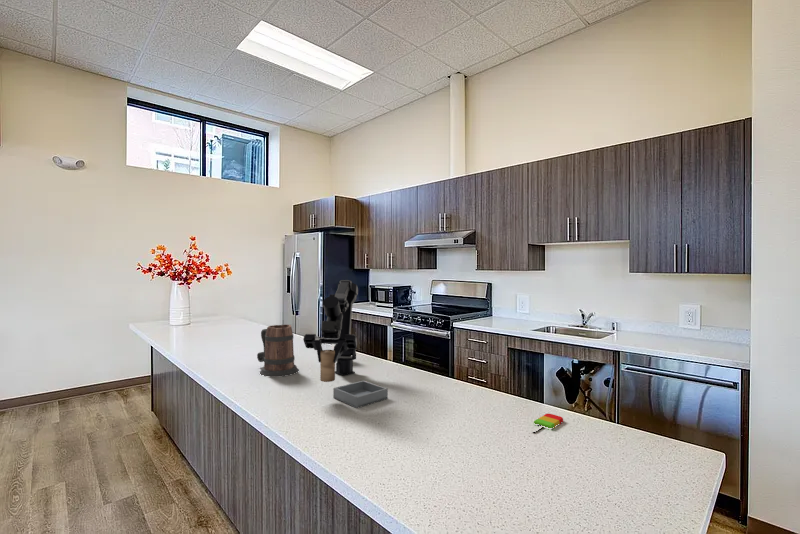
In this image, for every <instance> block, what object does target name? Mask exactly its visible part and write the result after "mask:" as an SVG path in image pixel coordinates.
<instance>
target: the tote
mask: <svg viewBox="0 0 800 534" xmlns="http://www.w3.org/2000/svg"><path fill="white" fill-rule="evenodd" d="M332 390H333V394H332V395H333V397H332V398H333V399H335V400H337V401H339V402H342V403H345V404H347V405H349V406H351V407H353V406H354V408H355V409H358V407H359V408H362V407H365V406H368V404H369V405H371V403H372V404H375V403H378V402H381V400H382V401H384V399H385V400H387V399H389V397H388V395H389V394H388V393H389V389H388V388H386V387H384V386H380V385H378V384H375V383H373V382H370V381H366V380H360V381H355V382H352V383H348V384H343V385H341V386H336V387H333V389H332ZM374 402H375V403H374ZM361 406H362V407H361Z"/></svg>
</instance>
